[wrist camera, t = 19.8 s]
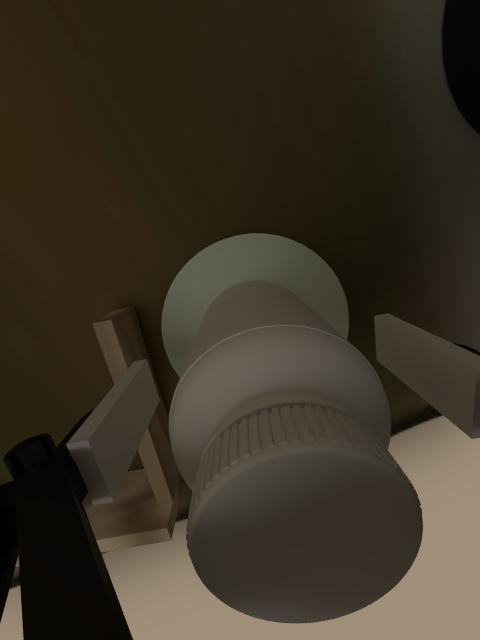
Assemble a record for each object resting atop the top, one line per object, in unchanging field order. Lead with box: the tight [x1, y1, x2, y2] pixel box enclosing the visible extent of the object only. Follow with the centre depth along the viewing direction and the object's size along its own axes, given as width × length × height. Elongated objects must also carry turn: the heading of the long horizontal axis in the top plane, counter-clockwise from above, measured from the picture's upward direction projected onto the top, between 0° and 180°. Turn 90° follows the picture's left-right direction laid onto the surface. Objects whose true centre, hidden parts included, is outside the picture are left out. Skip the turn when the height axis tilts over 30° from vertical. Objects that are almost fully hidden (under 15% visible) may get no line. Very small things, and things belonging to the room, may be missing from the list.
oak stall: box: [15, 306, 184, 567], centre depth 20 cm, size 18×16×6 cm
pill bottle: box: [169, 280, 423, 623], centre depth 13 cm, size 8×8×15 cm
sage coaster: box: [161, 233, 349, 377], centre depth 21 cm, size 14×14×1 cm
